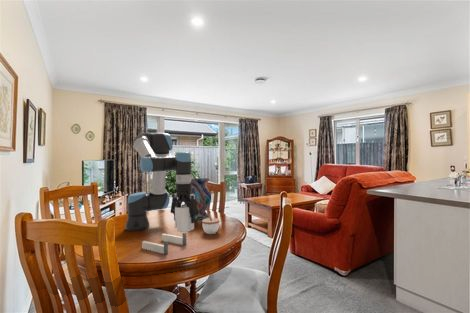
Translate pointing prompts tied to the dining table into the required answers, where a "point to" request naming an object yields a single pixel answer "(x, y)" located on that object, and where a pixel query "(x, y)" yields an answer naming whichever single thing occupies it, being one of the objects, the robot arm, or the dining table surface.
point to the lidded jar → (210, 225)
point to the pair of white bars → (164, 248)
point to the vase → (201, 196)
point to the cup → (182, 218)
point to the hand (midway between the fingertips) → (184, 228)
